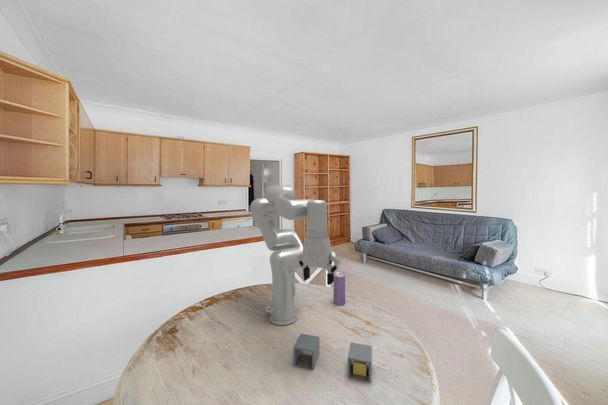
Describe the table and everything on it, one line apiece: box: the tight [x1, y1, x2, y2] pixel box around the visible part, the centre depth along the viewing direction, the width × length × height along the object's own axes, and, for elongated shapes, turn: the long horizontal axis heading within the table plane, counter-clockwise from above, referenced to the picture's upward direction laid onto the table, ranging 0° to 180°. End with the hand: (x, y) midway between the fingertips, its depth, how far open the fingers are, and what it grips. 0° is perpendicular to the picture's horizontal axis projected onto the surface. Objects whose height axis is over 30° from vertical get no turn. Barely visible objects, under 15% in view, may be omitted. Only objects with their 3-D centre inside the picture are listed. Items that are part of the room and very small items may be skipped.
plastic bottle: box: [289, 268, 296, 295], centre depth 137 cm, size 6×7×20 cm
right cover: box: [347, 341, 373, 383], centre depth 80 cm, size 7×8×6 cm
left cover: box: [292, 333, 320, 371], centre depth 86 cm, size 7×8×6 cm
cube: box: [352, 360, 368, 377], centre depth 80 cm, size 4×4×4 cm
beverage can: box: [332, 272, 346, 306], centre depth 127 cm, size 6×6×15 cm
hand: (318, 281), depth 90 cm, fingers open, 9 cm apart
